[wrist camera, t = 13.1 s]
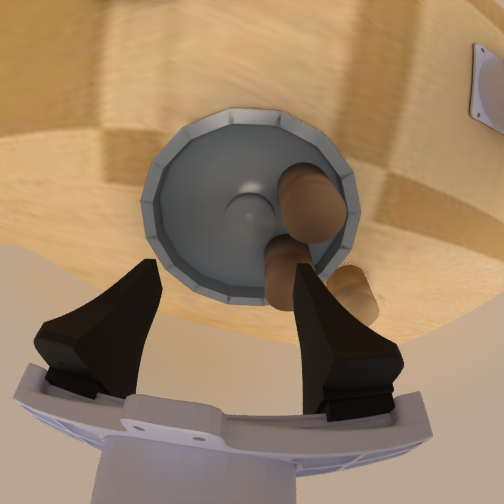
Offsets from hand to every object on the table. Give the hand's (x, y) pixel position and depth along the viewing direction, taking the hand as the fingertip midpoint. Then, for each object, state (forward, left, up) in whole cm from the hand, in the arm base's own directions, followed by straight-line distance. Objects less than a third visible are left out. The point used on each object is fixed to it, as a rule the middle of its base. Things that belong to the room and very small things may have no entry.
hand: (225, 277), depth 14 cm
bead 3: (-11, +8, -10) cm, 17 cm away
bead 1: (-5, -2, -9) cm, 11 cm away
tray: (-1, +1, -10) cm, 10 cm away
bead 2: (-4, +5, -9) cm, 11 cm away
